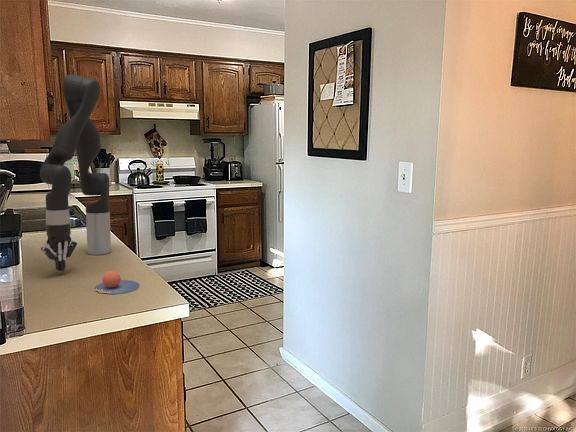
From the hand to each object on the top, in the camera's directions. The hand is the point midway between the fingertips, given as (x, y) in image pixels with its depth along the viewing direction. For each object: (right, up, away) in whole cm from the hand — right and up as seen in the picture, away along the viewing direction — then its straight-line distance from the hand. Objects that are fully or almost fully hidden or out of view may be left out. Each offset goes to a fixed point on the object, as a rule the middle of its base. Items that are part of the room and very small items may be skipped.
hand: (60, 270), depth 168 cm
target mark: (+24, -4, -11) cm, 27 cm away
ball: (+22, -2, -12) cm, 26 cm away
